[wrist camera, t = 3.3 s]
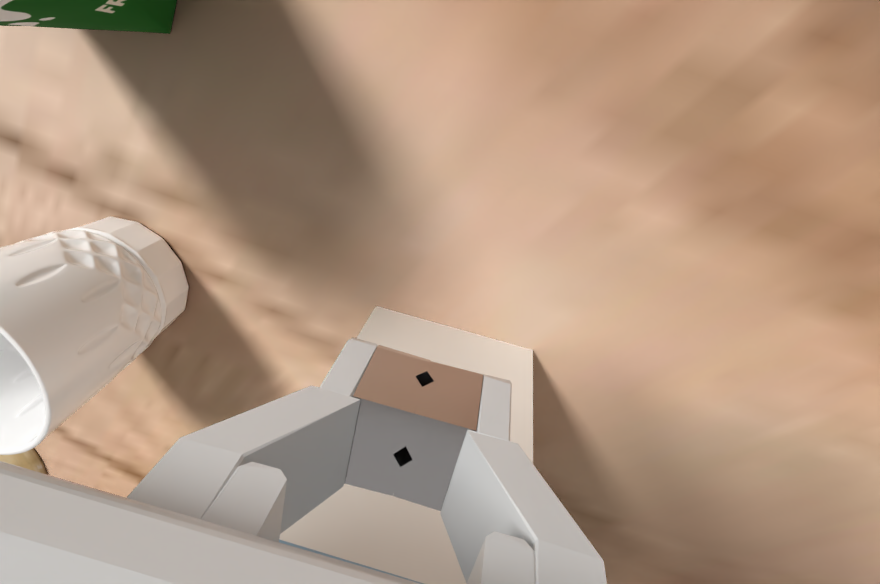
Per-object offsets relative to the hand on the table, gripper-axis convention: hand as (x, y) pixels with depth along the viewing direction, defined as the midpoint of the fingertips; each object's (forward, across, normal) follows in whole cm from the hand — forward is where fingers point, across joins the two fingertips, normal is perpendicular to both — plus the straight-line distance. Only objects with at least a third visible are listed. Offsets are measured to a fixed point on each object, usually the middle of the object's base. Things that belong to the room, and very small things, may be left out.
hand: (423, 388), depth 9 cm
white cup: (+16, +18, +10) cm, 26 cm away
